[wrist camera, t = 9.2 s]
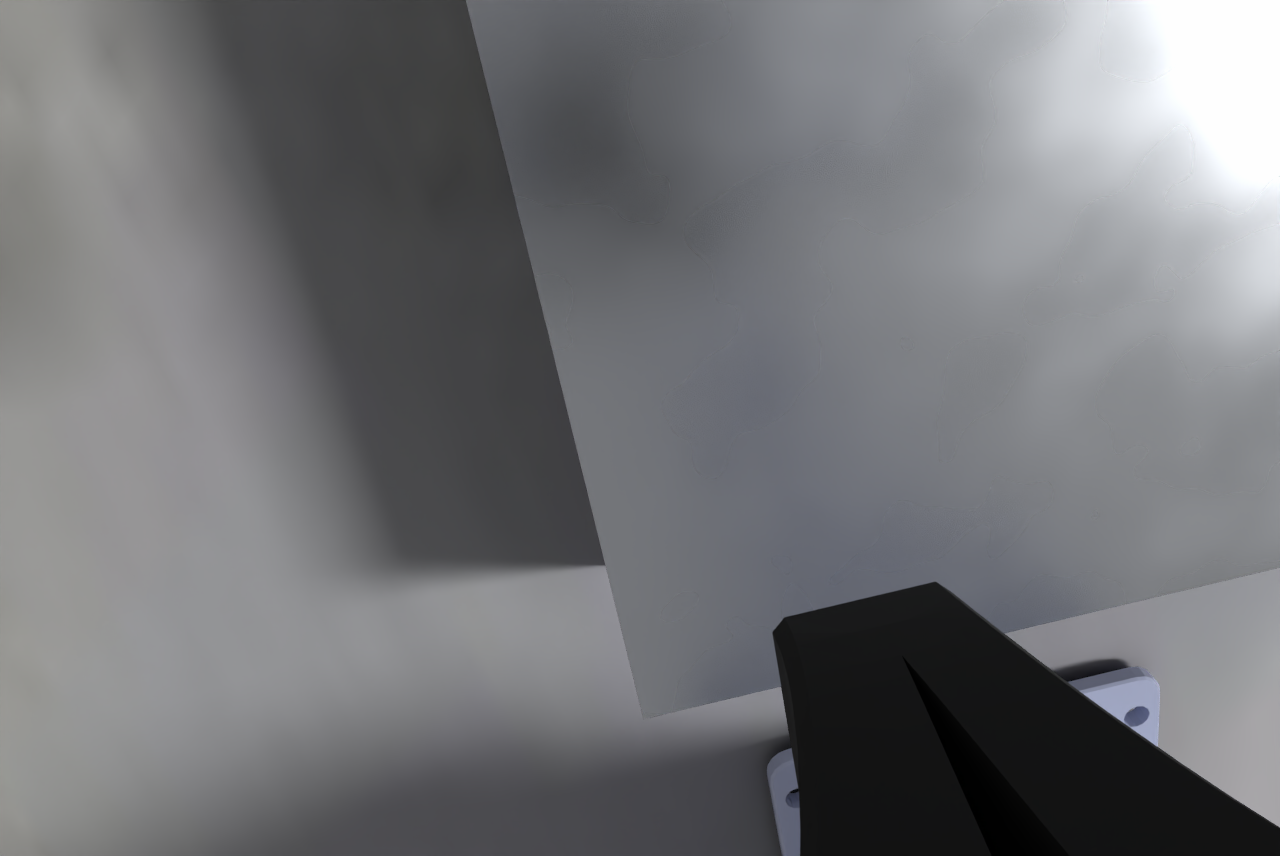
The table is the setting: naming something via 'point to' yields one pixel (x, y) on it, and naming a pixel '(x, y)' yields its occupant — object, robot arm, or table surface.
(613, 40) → the deck
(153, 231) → the table surface
